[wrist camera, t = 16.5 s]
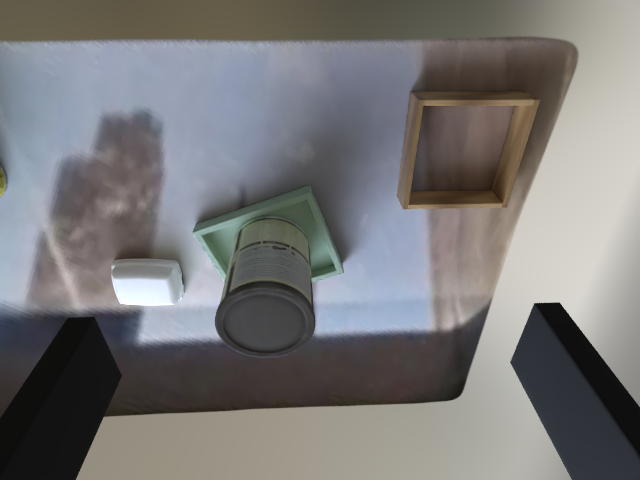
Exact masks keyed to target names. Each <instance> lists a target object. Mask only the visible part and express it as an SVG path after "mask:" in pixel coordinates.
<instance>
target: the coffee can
mask: <svg viewBox="0 0 640 480" xmlns="http://www.w3.org/2000/svg"><path fill="white" fill-rule="evenodd" d="M215 327H216V330H217V333H218V335H219V336H220V338H221V339H222V340H223V341H224V342H225V343H226V344H227V345H228V346H229V347H230V348H232V349H234V350H235V351H237V352H239V353H242V354H245V355H249V356H253V357H259V358H273V357H279V356H284V355H287V354H290V353H292V352H294V351H296V350H298V349H300V348H301V347H302V346H304V345H305V344H306V343H307V342H308V341H309V340H310V338H311V336H312V335H313V332H314V329H315V315H314V311H313V293H312V279H311V260H310V241H309V238H308V236H307V234H306V232H305V231H304V230H303V228H302V227H301V226H299V225H298V224H297V223H295V222H294V221H292V220H290V219H288V218H286V217H281V216H277V215H265V216H260V217H256V218H254V219H251V220H249V221H248V222H246V223H245V224H243V225H242V226H241V227H240V228H239V230H238V231H237V233H236V234H235V237H234V241H233V249H232V253H231V257H230V262H229V266H228V271H227V275H226V279H225V284H224V288H223V293H222V297H221V301H220V305H219V307H218V309H217V312H216V316H215Z"/></svg>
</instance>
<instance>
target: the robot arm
mask: <svg viewBox="0 0 640 480" xmlns="http://www.w3.org/2000/svg"><path fill="white" fill-rule="evenodd" d="M510 363H511V365H512V366H513V368H514V370H515V372H516V374H517V376H518V378H519V380H520V382H521V384H522V386H523V388H524V389H525V391H526V393H527V395H528V397H529V399H530V401H531V403H532V405H533V407H534V408H535V410H536V412H537V414H538V416H539V418H540V420H541V422H542V424H543V425H544V427H545V429H546V431H547V433H548V435H549V437H550V439H551V440H552V443H553V445H554V447H555V448H556V450H557V452H558V454H559V456H560V458H561V460H562V462H563V464H564V465H565V467H566V469H567V471H568V473H569V475H570V477H571V479H572V480H640V407H639V406H638V404H637V403H636V402H635V400H634V399H633V398H632V397H631V395H630V394H629V393H628V391H627V390H626V389H625V387H624V386H623V385H622V383H621V382H620V381H619V380H618V378H617V377H616V376H615V374H614V373H613V372H612V371H611V369H610V368H609V367H608V365H607V364H606V363H605V361H604V360H603V359H602V358H601V356H600V355H599V354H598V352H597V351H596V350H595V348H594V347H593V346H592V344H591V343H590V342H589V341H588V339H587V338H586V337H585V335H584V334H583V333H582V331H581V330H580V329H579V327H578V326H577V325H576V323H575V322H574V321H573V320H572V318H571V317H570V316H569V314H568V313H567V312H566V310H565V309H564V308H563V307H562V305H561V304H560V303H535V304H534V306H533V308H532V311H531V313H530V316H529V318H528V321H527V323H526V325H525V328H524V330H523V333H522V335H521V337H520V340H519V342H518V345H517V347H516V350H515V353H514V355H513V357H512V360H511V362H510ZM121 377H122V375H121V373H120V371H119V369H118V367H117V364H116V362H115V360H114V358H113V356H112V354H111V352H110V349H109V347H108V345H107V343H106V341H105V339H104V337H103V334H102V332H101V330H100V328H99V326H98V324H97V322H96V319H95V317H79V318H68V319H67V320H66V322H65V323H64V324H63V326H62V327H61V329H60V330H59V332H58V333H57V335H56V336H55V338H54V339H53V341H52V342H51V344H50V345H49V347H48V348H47V350H46V351H45V353H44V354H43V356H42V357H41V359H40V360H39V362H38V363H37V365H36V366H35V368H34V369H33V371H32V372H31V373H30V375H29V376H28V378H27V379H26V381H25V382H24V384H23V385H22V387H21V388H20V390H19V391H18V393H17V394H16V396H15V397H14V399H13V400H12V402H11V403H10V405H9V406H8V408H7V409H6V411H5V412H4V414H3V415H2V417H1V418H0V480H76V478H77V476H78V473H79V471H80V469H81V467H82V464H83V462H84V460H85V457H86V455H87V453H88V451H89V449H90V446H91V444H92V442H93V440H94V437H95V435H96V433H97V431H98V428H99V426H100V423H101V421H102V419H103V417H104V415H105V413H106V410H107V408H108V406H109V404H110V401H111V399H112V397H113V395H114V392H115V390H116V388H117V386H118V383H119V381H120V379H121Z"/></svg>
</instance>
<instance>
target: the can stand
mask: <svg viewBox="0 0 640 480" xmlns="http://www.w3.org/2000/svg"><path fill="white" fill-rule="evenodd" d="M539 102H540V99H538V98H536V97H534V96H532V95H530V94H528V93H527V92H525V91H423V92H416V91H411V92H410V99H409V107H408V114H407V122H406V129H405V137H404V145H403V152H402V160H401V167H400V175H399V183H398V190H397V197H398V199H399V201H400V204H401V206H402V208H403V209H441V208H499V207H507V205H508V202H509V198H510V195H511V192H512V189H513V186H514V182H515V179H516V176H517V173H518V170H519V166H520V163H521V160H522V157H523V154H524V150H525V147H526V144H527V141H528V138H529V134H530V131H531V128H532V125H533V122H534V118H535V115H536V112H537V109H538V106H539ZM488 105H515V108H514V112H513V115H512V119H511V122H510V126H509V129H508V133H507V137H506V140H505V144H504V147H503V151H502V154H501V158H500V162H499V165H498V169H497V172H496V176H495V180H494V183H493V187H492V190H469V191H411V185H412V178H413V172H414V165H415V159H416V152H417V145H418V139H419V132H420V126H421V119H422V113H423V106H488Z"/></svg>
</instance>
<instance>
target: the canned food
mask: <svg viewBox="0 0 640 480" xmlns="http://www.w3.org/2000/svg"><path fill="white" fill-rule="evenodd" d="M6 188H7V178H6V174H5V172H4V170H3V168H2V166H1V165H0V197H1V196H3V194H4V192H5V191H6Z"/></svg>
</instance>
